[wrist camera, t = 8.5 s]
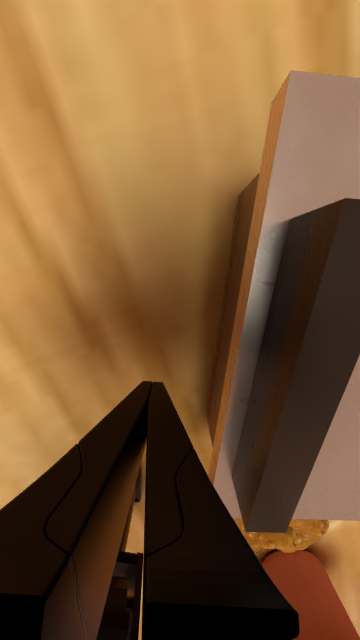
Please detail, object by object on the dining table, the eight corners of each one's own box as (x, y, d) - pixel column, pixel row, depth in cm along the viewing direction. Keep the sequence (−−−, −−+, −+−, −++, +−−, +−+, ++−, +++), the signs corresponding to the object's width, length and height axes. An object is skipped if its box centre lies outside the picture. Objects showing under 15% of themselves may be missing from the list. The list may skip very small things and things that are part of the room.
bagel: (222, 466, 22) (233, 520, 17) (314, 461, 22) (350, 513, 17) (221, 517, 25) (231, 574, 20) (302, 513, 25) (330, 569, 20)
